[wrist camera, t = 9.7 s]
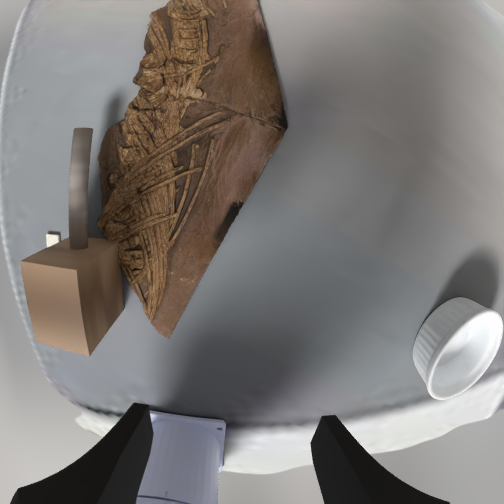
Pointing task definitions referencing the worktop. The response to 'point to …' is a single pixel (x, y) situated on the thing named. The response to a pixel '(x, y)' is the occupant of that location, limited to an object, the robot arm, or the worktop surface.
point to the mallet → (75, 273)
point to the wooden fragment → (188, 147)
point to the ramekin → (456, 346)
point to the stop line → (52, 239)
